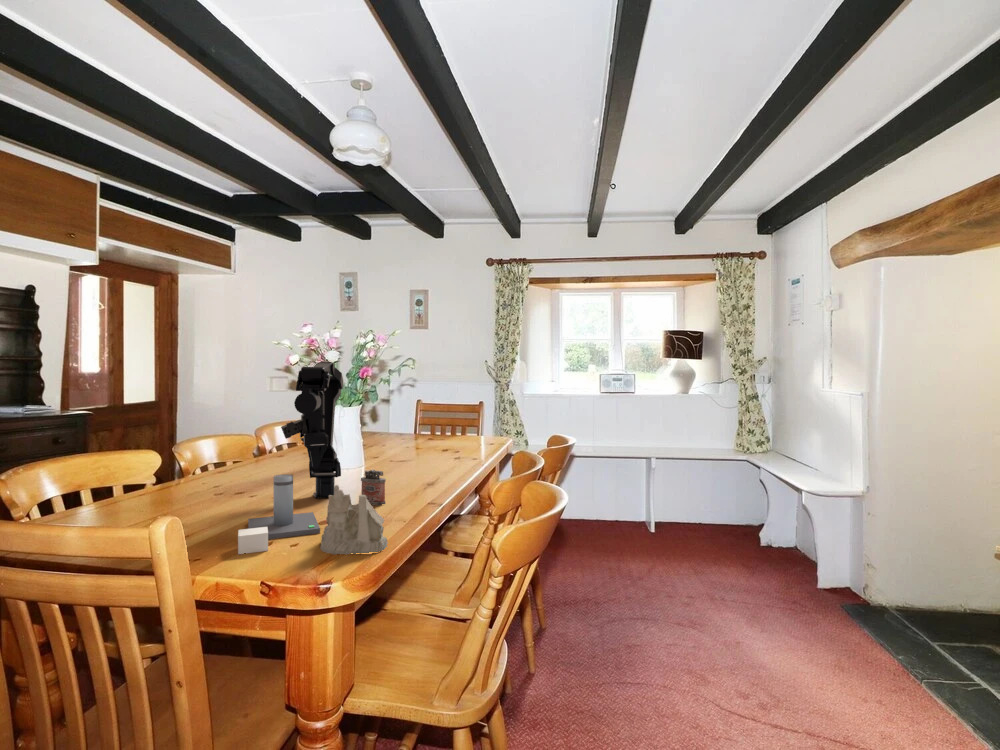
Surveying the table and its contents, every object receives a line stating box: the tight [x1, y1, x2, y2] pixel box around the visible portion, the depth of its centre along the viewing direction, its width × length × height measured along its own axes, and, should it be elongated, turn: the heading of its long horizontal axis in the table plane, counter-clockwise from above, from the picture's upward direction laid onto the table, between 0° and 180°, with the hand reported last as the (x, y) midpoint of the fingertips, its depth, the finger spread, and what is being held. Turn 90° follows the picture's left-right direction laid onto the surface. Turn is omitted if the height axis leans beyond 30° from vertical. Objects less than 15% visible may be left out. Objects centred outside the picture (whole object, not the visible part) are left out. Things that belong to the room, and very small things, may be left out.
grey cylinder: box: [273, 473, 294, 526], centre depth 136 cm, size 5×5×12 cm
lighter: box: [360, 469, 387, 506], centre depth 161 cm, size 8×3×10 cm, turn 70°
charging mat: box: [237, 511, 321, 555], centre depth 132 cm, size 24×18×4 cm
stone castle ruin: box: [319, 484, 389, 555], centre depth 125 cm, size 16×16×15 cm
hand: (313, 465), depth 152 cm, fingers open, 9 cm apart
